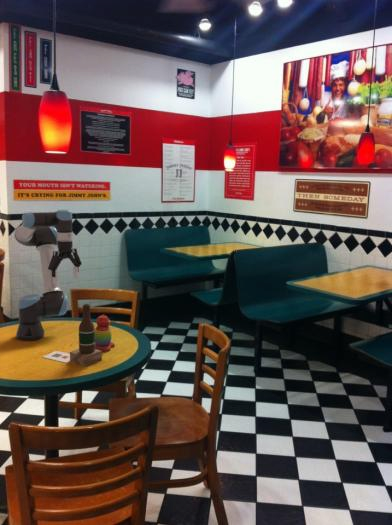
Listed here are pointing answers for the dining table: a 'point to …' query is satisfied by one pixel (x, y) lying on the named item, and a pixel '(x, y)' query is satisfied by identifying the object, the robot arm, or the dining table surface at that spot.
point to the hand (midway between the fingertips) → (65, 281)
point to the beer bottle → (86, 332)
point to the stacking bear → (103, 334)
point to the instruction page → (58, 356)
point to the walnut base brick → (85, 357)
